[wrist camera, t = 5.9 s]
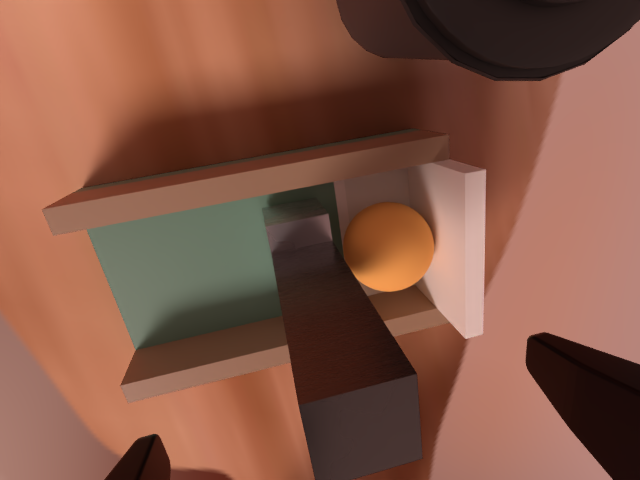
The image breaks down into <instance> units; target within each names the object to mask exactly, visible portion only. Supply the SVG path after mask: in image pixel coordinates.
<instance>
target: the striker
mask: <svg viewBox="0 0 640 480" xmlns="http://www.w3.org/2000/svg"><path fill="white" fill-rule="evenodd" d="M262 210H263V216H264V222H265V227H266V232H267V237H268V241H269V246H270V250H271V255H272V261H273V266H274V272H275V277H276V283H277V288H278V294H279V300H280V305H281V311H282V316H283V322H284V327H285V333H286V338H287V344H288V349H289V355H290V360H291V366H292V372H293V377H294V383H295V388H296V394H297V399H298V405H299V409H300V414H301V418H302V423H303V427H304V432H305V436H306V441H307V445H308V450H309V454H310V458H311V463H312V467H313V472H314V476H315V480H352V479H356V478H359V477H362V476H366V475H369V474H373V473H376V472H379V471H383V470H386V469H389V468H393V467H396V466H400V465H403V464H406V463H410V462H413V461H417V460H420V459H423V458H422V443H421V427H420V412H419V397H418V382H417V373H416V372H415V370H414V368H413V367H412V365H411V364H410V362H409V361H408V359H407V357H406V356H405V354H404V353H403V351H402V350H401V348H400V346H399V345H398V343H397V342H396V340H395V339H394V337H393V335H392V334H391V332H390V331H389V329H388V328H387V326H386V324H385V323H384V321H383V320H382V318H381V316H380V315H379V313H378V312H377V310H376V309H375V307H374V305H373V304H372V302H371V301H370V299H369V298H368V296H367V294H366V293H365V291H364V290H363V288H362V287H361V285H360V283H359V282H358V280H357V279H356V277H355V276H354V274H353V272H352V271H351V269H350V268H349V266H348V265H347V263H346V261H345V260H344V258H343V257H342V255H341V253H340V252H339V250H338V249H337V247H336V246H335V244H334V242H333V241H332V235H331V228H330V221H329V214H328V213H327V211H326V210H325V209H324V207H323V206H322V205H321V203H320V202H319V201H318V199H317V198H311V199H306V200H301V201H296V202H291V203H286V204H281V205H276V206H271V207H265V208H262Z"/></svg>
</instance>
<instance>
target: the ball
mask: <svg viewBox="0 0 640 480" xmlns="http://www.w3.org/2000/svg"><path fill="white" fill-rule="evenodd" d="M343 253H344V258H345V261H346V263H347V265H348V266H349V268H350V269H351V271H352V272H353V274H354V276H355V277H356V278H357V279H358V280H359V281H360V282H361V283H363V284H364V285H366V286H368V287H370V288H372V289H375V290H379V291H385V292H392V291H398V290H403V289H405V288H408V287H410V286H412V285H413V284H415V283H416V282H418V281H419V280H420V279H421V278H422V277H423V276H424V274H425V273H426V272H427V270H428V268H429V266H430V264H431V262H432V259H433V254H434V240H433V235H432V232H431V229H430V227H429V225H428V224H427V222H426V221H425V219H424V218H423V217H422V216H421V215H420V214H419V213H418V212H417V211H415V210H414V209H412V208H410V207H408V206H406V205H404V204H400V203H395V202H381V203H376V204H373V205H371V206H368V207H367V208H365V209H363V210H362V211H360V212H359V213H358V214H357V215H356V216H355V217H354V218H353V219H352V221H351V222H350V224H349V225H348V227H347V230H346V232H345V235H344V240H343Z"/></svg>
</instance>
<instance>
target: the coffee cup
mask: <svg viewBox="0 0 640 480" xmlns="http://www.w3.org/2000/svg"><path fill="white" fill-rule="evenodd" d="M336 1H337V5H338V9H339V12H340V16H341V20H342V22H343V23H344V25H345V27H346V28H347V30H348V32H349V33H350V35H351V37H352V38H353V39H354V40H355V41H356V42H357V43H358V44H359V45H361V46H362V47H363V48H364V49H365V50H366V51H368V52H371V53H373V54H376V55H378V56H381V57H383V58H408V59H434V60H449V61H450V62H451V63H454V64H456V65H458V66H461V67H463V68H466V69H468V70H470V71H473V72H475V73H478V74H480V75H482V76H485V77H487V78H489V79H492V80H494V81H541V80H543V79H546V78H549V77H551V76H554V75H557V74H560V73H562V72H565V71H568V70H570V69H573V68H576V67H578V66H581V65H584V64H586V63H587V62H588V61H590V60H591V59H592V58H593V57H595V56H596V55H597V54H599V53H600V52H601V51H603V50H604V49H605V48H607V47H608V46H609V45H610V44H612V43H613V42H614V41H616V40H617V39H618V38H620V37H621V36H622V35H624V34H625V33H626V32H627V31H629V30H630V29H631V27H632V26H633V25H634V24H635V23H636V22H638V21H639V20H640V0H336Z"/></svg>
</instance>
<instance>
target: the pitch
mask: <svg viewBox="0 0 640 480" xmlns="http://www.w3.org/2000/svg"><path fill="white" fill-rule="evenodd" d="M311 198H317V199H318V201H319V202H320V203H321V205H322V206H323V207H324V209H325V210H326V211H327V213H328V214H329V221H330V228H331V235H332V241H333V242H334V244H335V246H336V247H337V249H338V250H339V252H340V253H341V255H342V257H343V258H344V253H343V240H344V235H345V232H346V230H347V227H348V225H349V224H350V222H351V221H352V219H353V218H354V217H355V216H356V215H357V214H358V213H359V212H360V211H362V210H363V209H365V208H367V207H368V206H371V205H373V204H376V203H381V202H395V203H400V204H404V205H406V206H408V207H410V208H412V209H414V210H415V211H417V212H418V213H419V214H420V215H421V216H422V217H423V218H424V219H425V221H426V222H427V224H428V225H429V227H430V229H431V232H432V235H433V240H434V254H433V259H432V262H431V264H430V266H429V268H428V270H427V272H426V273H425V274H424V276H423V277H422V278H421V279H420V280H419V281H418V282H416V283H415V284H413V285H412V286H410V287H408V288H405V289H403V290H398V291H392V292H385V291H379V290H375V289H372V288H370V287H368V286H366V285H364V284H363V283H361V282H360V281H359V280H358V279H357V278H356V279H357V280H358V282H359V283H360V285H361V287H362V288H363V290H364V291H365V293H366V294H367V296H368V298H369V299H370V301H371V302H372V304H373V305H374V307H375V309H376V310H377V312H378V313H379V315H380V316H381V318H382V320H383V321H384V323H385V324H386V326H387V328H388V329H389V331H390V332H391V334H392V335H393V337H395V336H399V335H403V334H407V333H411V332H415V331H419V330H423V329H427V328H431V327H435V326H439V325H443V324H447V323H451V324H452V325H453V326H454V327H455V328H456V329H457V330H458V331H459V333H460V334H461V335H462V336H463V337H464V338H465V339H468V338H472V337H475V336H479V335H483V319H484V317H483V315H484V313H483V312H484V261H485V202H486V169H482V168H479V167H475V166H472V165H468V164H465V163H461V162H458V161H454V160H451V159H450V144H449V134H444V133H437V132H431V131H425V130H419V129H407V130H402V131H396V132H391V133H385V134H380V135H374V136H369V137H363V138H357V139H352V140H346V141H341V142H335V143H330V144H324V145H319V146H313V147H307V148H302V149H296V150H291V151H285V152H280V153H274V154H268V155H263V156H257V157H252V158H246V159H241V160H235V161H230V162H224V163H218V164H213V165H207V166H202V167H196V168H191V169H185V170H180V171H174V172H168V173H163V174H157V175H152V176H146V177H141V178H135V179H130V180H124V181H118V182H113V183H107V184H102V185H96V186H91V187H85V188H81V189H79V190H77V191H75V192H73V193H71V194H70V195H68V196H66V197H64V198H62V199H60V200H58V201H57V202H55V203H53V204H51V205H49V206H47V207H45V208H44V209H42V211H43V214H44V216H45V218H46V220H47V223H48V225H49V227H50V229H51V232H52V234H53V236H55V235H60V234H65V233H70V232H76V231H81V230H86V229H87V232H88V234H89V237H90V239H91V242H92V244H93V247H94V249H95V251H96V254H97V256H98V259H99V261H100V264H101V266H102V269H103V271H104V274H105V276H106V278H107V281H108V283H109V286H110V288H111V291H112V293H113V296H114V298H115V300H116V303H117V305H118V308H119V310H120V313H121V315H122V318H123V320H124V322H125V325H126V327H127V330H128V332H129V335H130V337H131V340H132V342H133V345H134V347H135V349H136V351H135V353H134V355H133V358H132V360H131V362H130V365H129V367H128V369H127V371H126V374H125V376H124V378H123V381H122V383H121V385H120V386H121V388H122V390H123V393H124V395H125V397H126V399H127V402H128V403H131V402H135V401H139V400H143V399H147V398H151V397H155V396H159V395H163V394H167V393H171V392H175V391H179V390H183V389H187V388H191V387H195V386H199V385H203V384H207V383H211V382H215V381H219V380H223V379H227V378H231V377H235V376H239V375H243V374H247V373H251V372H255V371H259V370H263V369H267V368H271V367H275V366H279V365H283V364H287V363H291V360H290V355H289V349H288V344H287V338H286V333H285V327H284V322H283V316H282V311H281V305H280V300H279V294H278V288H277V283H276V277H275V272H274V266H273V261H272V255H271V250H270V246H269V241H268V237H267V232H266V227H265V222H264V216H263V210H262V208H265V207H271V206H276V205H281V204H286V203H291V202H296V201H301V200H306V199H311ZM344 260H345V258H344Z"/></svg>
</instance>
